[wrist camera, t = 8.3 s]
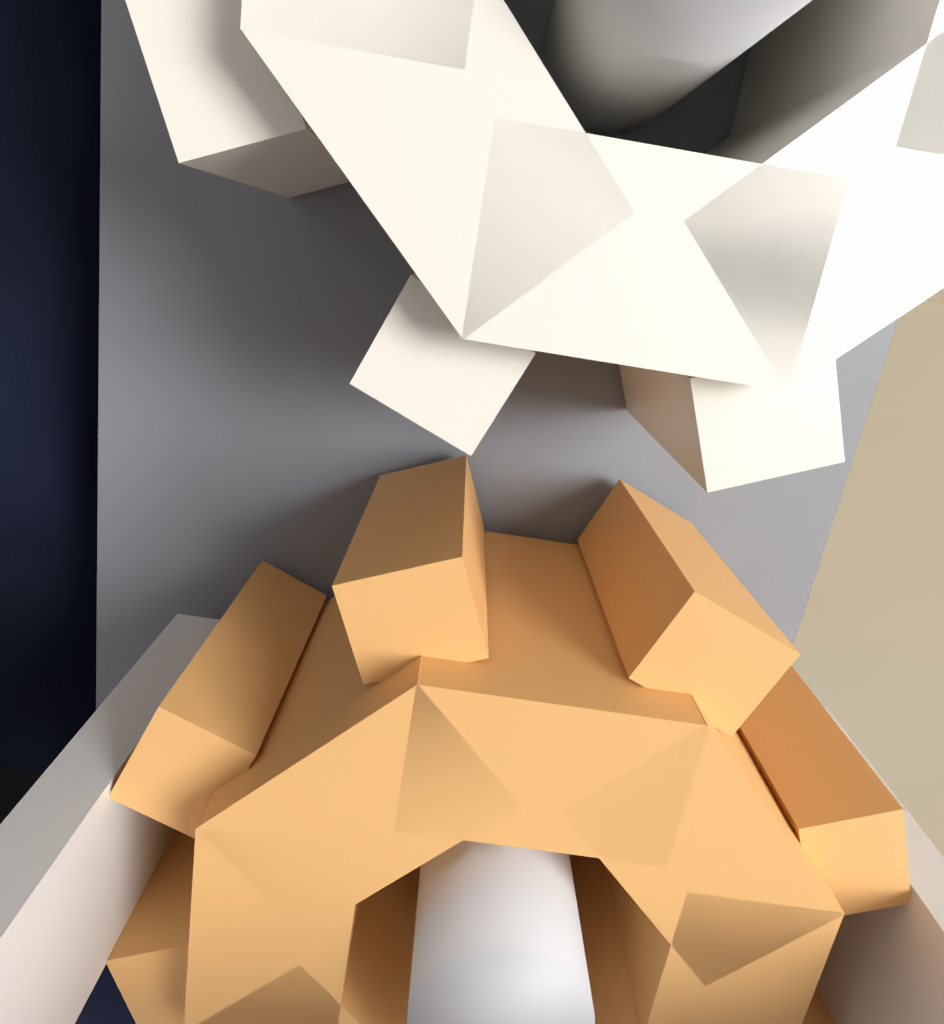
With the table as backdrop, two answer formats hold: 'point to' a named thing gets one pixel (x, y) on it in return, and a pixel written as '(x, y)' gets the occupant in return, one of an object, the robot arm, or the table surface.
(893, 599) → the table surface
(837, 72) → the gear
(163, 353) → the gear board
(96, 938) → the robot arm
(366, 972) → the gear
